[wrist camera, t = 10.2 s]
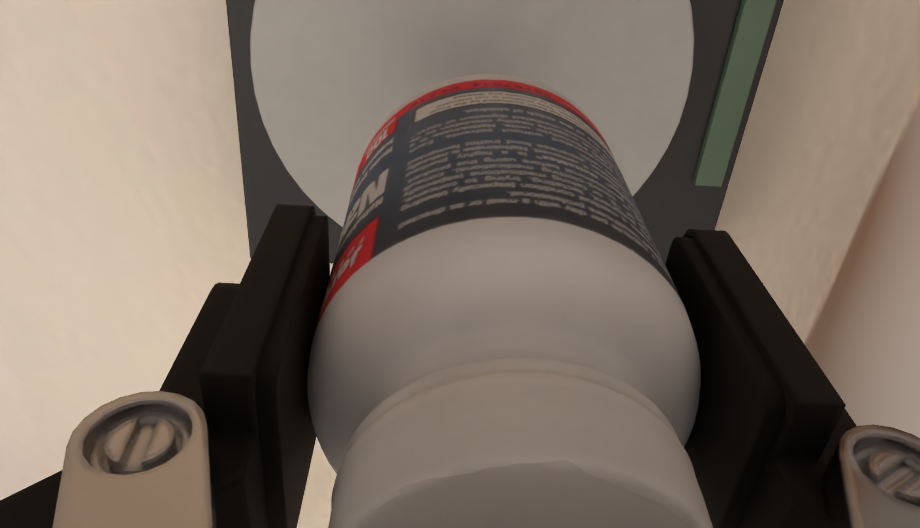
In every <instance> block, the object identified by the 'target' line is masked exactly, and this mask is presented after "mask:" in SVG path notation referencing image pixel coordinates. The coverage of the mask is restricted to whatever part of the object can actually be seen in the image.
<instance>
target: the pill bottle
mask: <svg viewBox="0 0 920 528" xmlns="http://www.w3.org/2000/svg"><path fill="white" fill-rule="evenodd" d="M700 387H701V367H700V357H699V352H698V347H697V342H696V339H695V336H694V332H693V329H692V326H691V323H690V320H689V317H688V314H687V312H686V309H685V306H684V304H683V302H682V300H681V298H680V296H679V294H678V292H677V289H676V287H675V285H674V283H673V281H672V279H671V276H670V274H669V272H668V270H667V268H666V266H665V264H664V262H663V260H662V258H661V256H660V254H659V252H658V250H657V248H656V245H655V243H654V241H653V239H652V237H651V235H650V233H649V231H648V229H647V227H646V225H645V223H644V220H643V218H642V216H641V214H640V212H639V210H638V208H637V206H636V204H635V202H634V199H633V197H632V195H631V193H630V190H629V188H628V186H627V184H626V182H625V180H624V178H623V176H622V173H621V171H620V169H619V167H618V165H617V163H616V161H615V159H614V156H613V154H612V152H611V150H610V148H609V146H608V145H607V143H606V141H605V140H604V138H603V136H602V135H601V133H600V131H599V130H598V128H597V127H596V125H595V124H594V123H593V121H592V120H591V119H590V118H589V117H588V116H587V114H586V113H585V112H584V111H583V110H582V109H580V108H579V107H578V106H577V105H576V104H575V103H573V102H572V101H571V100H569V99H568V98H567V97H565V96H563V95H562V94H560V93H559V92H557V91H555V90H554V89H552V88H549V87H547V86H545V85H542V84H540V83H537V82H534V81H531V80H528V79H524V78H521V77H516V76H511V75H502V74H474V75H467V76H462V77H457V78H453V79H449V80H446V81H443V82H440V83H437V84H435V85H433V86H430V87H428V88H426V89H424V90H422V91H420V92H418V93H416V94H415V95H413V96H412V97H410V98H409V99H407V100H406V101H404V102H403V103H402V104H400V105H399V106H398V107H397V108H396V109H395V110H394V111H392V112H391V113H390V114H389V115H388V116H387V117H386V118H385V120H384V121H383V122H382V123H381V124H380V126H379V127H378V128H377V130H376V131H375V132H374V134H373V135H372V137H371V139H370V141H369V143H368V145H367V146H366V149H365V151H364V153H363V155H362V158H361V161H360V164H359V166H358V169H357V173H356V177H355V181H354V184H353V188H352V192H351V196H350V201H349V205H348V209H347V213H346V217H345V221H344V225H343V229H342V233H341V237H340V241H339V245H338V249H337V253H336V256H335V260H334V264H333V267H332V271H331V274H330V278H329V282H328V285H327V289H326V292H325V296H324V300H323V304H322V306H321V310H320V314H319V317H318V322H317V326H316V329H315V333H314V337H313V341H312V345H311V351H310V358H309V365H308V372H307V395H308V404H309V411H310V416H311V419H312V423H313V426H314V430H315V433H316V436H317V438H318V441H319V443H320V445H321V448H322V450H323V452H324V454H325V456H326V458H327V460H328V462H329V463H330V465H331V466H332V468H333V469H334V470H335V472H336V473H337V476H336V480H335V484H334V487H333V492H332V511H331V517H330V523H329V528H713V526H712V523H711V520H710V517H709V514H708V511H707V508H706V504H705V501H704V498H703V495H702V493H701V490H700V487H699V485H698V482H697V480H696V476H695V472H694V469H693V465H692V462H691V460H690V458H689V456H688V454H687V452H686V450H685V449H684V446H685V445H686V443H687V441H688V438H689V436H690V433H691V431H692V428H693V425H694V422H695V418H696V414H697V410H698V405H699V393H700Z"/></svg>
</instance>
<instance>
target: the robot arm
mask: <svg viewBox="0 0 920 528" xmlns="http://www.w3.org/2000/svg"><path fill="white" fill-rule="evenodd" d="M665 266H666V268H667V270H668V272H669V274H670V276H671V279H672V281H673V283H674V285H675V287H676V289H677V292H678V294H679V296H680V298H681V300H682V302H683V304H684V306H685V309H686V312H687V314H688V317H689V320H690V323H691V326H692V329H693V332H694V336H695V339H696V342H697V347H698V352H699V357H700V367H701V387H700V393H699V405H698V410H697V414H696V418H695V422H694V425H693V428H692V431H691V433H690V436H689V438H688V441H687V443H686V445H685V446H684V449H685V450H686V452H687V454H688V456H689V458H690V460H691V462H692V465H693V469H694V472H695V476H696V480H697V482H698V485H699V487H700V490H701V493H702V495H703V498H704V501H705V504H706V508H707V511H708V514H709V517H710V520H711V523H712V526H713V528H920V438H918V437H916V436H914V435H912V434H910V433H907V432H904V431H901V430H898V429H895V428H891V427H885V426H878V425H865V426H856V424H855V423H854V422H853V420H852V419H851V417H850V416H849V414H848V413H847V411H846V410H845V406H846V405H845V403H844V402H843V400H842V399H841V398H840V396H839V395H838V393H837V392H836V390H835V389H834V387H833V386H832V384H831V383H830V381H829V380H828V379H827V377H826V376H825V374H824V373H823V371H822V370H821V368H820V367H819V365H818V364H817V362H816V361H815V359H814V358H813V357H812V355H811V354H810V352H809V351H808V349H807V348H806V346H805V345H804V343H803V342H802V340H801V339H800V338H799V336H798V335H797V333H796V332H795V330H794V329H793V327H792V326H791V324H790V323H789V321H788V320H787V319H786V317H785V316H784V314H783V313H782V311H781V310H780V308H779V307H778V305H777V304H776V302H775V301H774V300H773V298H772V297H771V295H770V294H769V292H768V291H767V289H766V288H765V286H764V285H763V283H762V282H761V281H760V279H759V278H758V276H757V275H756V273H755V272H754V270H753V269H752V267H751V266H750V264H749V263H748V262H747V260H746V259H745V257H744V256H743V254H742V253H741V251H740V250H739V248H738V247H737V245H736V244H735V243H734V241H733V240H732V238H731V237H730V235H729V234H728V233H727V232H726V231H717V230H700V229H688V230H687V231H686V232H685V234H684V235H683V237H675V238H674V239H673V241H672V243H671V246H670V249H669V253H668V256H667V260H666V264H665ZM329 278H330V264H329V226H328V217H327V216H320V215H316V212H315V208H314V206H306V205H289V204H277V205H276V206H275V208H274V211H273V213H272V215H271V217H270V219H269V222H268V224H267V226H266V228H265V230H264V232H263V235H262V237H261V239H260V241H259V243H258V246H257V248H256V250H255V252H254V254H253V257H252V259H251V261H250V263H249V265H248V267H247V270H246V272H245V274H244V276H243V278H242V281H241V283H240V284H234V283H217V284H215V285H214V287H213V288H212V290H211V291H210V293H209V295H208V297H207V299H206V301H205V303H204V305H203V307H202V309H201V311H200V313H199V315H198V317H197V319H196V321H195V323H194V324H193V326H192V328H191V330H190V332H189V334H188V336H187V338H186V340H185V342H184V344H183V346H182V348H181V350H180V352H179V354H178V356H177V358H176V360H175V361H174V363H173V365H172V367H171V369H170V371H169V373H168V375H167V377H166V379H165V381H164V383H163V385H162V387H161V389H160V391H154V392H140V393H136V394H132V395H128V396H124V397H120V398H118V399H116V400H114V401H111V402H109V403H107V404H105V405H102V406H101V407H99V408H98V409H96V410H95V411H94V412H92V413H91V414H89V415H88V416H87V417H85V418H84V419H83V420H82V422H81V423H80V424H79V425H78V426H77V427H76V429H75V430H74V431H73V432H72V435H71V437H70V440H69V442H68V445H67V447H66V453H65V458H64V464H63V470H62V471H60V472H58V473H56V474H54V475H52V476H49V477H47V478H45V479H43V480H41V481H39V482H37V483H35V484H33V485H31V486H29V487H27V488H25V489H23V490H21V491H19V492H17V493H15V494H13V495H11V496H9V497H7V498H5V499H3V500H1V501H0V528H297V523H298V519H299V514H300V509H301V505H302V500H303V496H304V491H305V486H306V482H307V477H308V473H309V468H310V463H311V459H312V454H313V450H314V445H315V440H316V433H315V430H314V426H313V423H312V419H311V416H310V411H309V404H308V395H307V372H308V365H309V358H310V351H311V345H312V341H313V337H314V333H315V329H316V326H317V322H318V317H319V314H320V310H321V306H322V304H323V300H324V296H325V292H326V289H327V285H328V282H329Z"/></svg>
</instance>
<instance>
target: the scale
mask: <svg viewBox="0 0 920 528" xmlns="http://www.w3.org/2000/svg"><path fill="white" fill-rule="evenodd" d="M783 1H784V0H226V4H227V15H228V26H229V36H230V47H231V57H232V68H233V79H234V89H235V100H236V110H237V121H238V132H239V142H240V153H241V163H242V174H243V185H244V195H245V206H246V216H247V227H248V238H249V248H250V258H252V257H253V254H254V252H255V250H256V248H257V246H258V243H259V241H260V239H261V237H262V235H263V232H264V230H265V228H266V226H267V224H268V222H269V219H270V217H271V215H272V213H273V211H274V208H275V206H276V205H277V204H289V205H306V206H314V208H315V212H316V215H320V216H327V217H328V226H329V263H334V260H335V256H336V253H337V249H338V245H339V241H340V237H341V233H342V229H343V225H344V221H345V217H346V213H347V209H348V205H349V201H350V196H351V192H352V188H353V184H354V181H355V177H356V173H357V169H358V166H359V164H360V161H361V158H362V155H363V153H364V151H365V149H366V146H367V145H368V143H369V141H370V139H371V137H372V135H373V134H374V132H375V131H376V130H377V128H378V127H379V126H380V124H381V123H382V122H383V121H384V120H385V118H386V117H387V116H388V115H389V114H390V113H391V112H392V111H394V110H395V109H396V108H397V107H398V106H399V105H400V104H402V103H403V102H404V101H406V100H407V99H409V98H410V97H412V96H413V95H415V94H416V93H418V92H420V91H422V90H424V89H426V88H428V87H430V86H433V85H435V84H437V83H440V82H443V81H446V80H449V79H453V78H457V77H462V76H467V75H474V74H502V75H511V76H516V77H521V78H524V79H528V80H531V81H534V82H537V83H540V84H542V85H545V86H547V87H549V88H552V89H554V90H555V91H557V92H559V93H560V94H562V95H563V96H565V97H567V98H568V99H569V100H571V101H572V102H573V103H575V104H576V105H577V106H578V107H579V108H580V109H582V110H583V111H584V112H585V113H586V114H587V116H588V117H589V118H590V119H591V120H592V121H593V123H594V124H595V125H596V127H597V128H598V130H599V131H600V133H601V135H602V136H603V138H604V140H605V141H606V143H607V145H608V146H609V148H610V150H611V152H612V154H613V156H614V159H615V161H616V163H617V165H618V167H619V169H620V171H621V173H622V176H623V178H624V180H625V182H626V184H627V186H628V188H629V190H630V193H631V195H632V197H633V199H634V202H635V204H636V206H637V208H638V210H639V212H640V214H641V216H642V218H643V220H644V223H645V225H646V227H647V229H648V231H649V233H650V235H651V237H652V239H653V241H654V243H655V245H656V248H657V250H658V252H659V254H660V256H661V258H662V260H663V262H664V264H666V260H667V256H668V253H669V249H670V246H671V243H672V241H673V239H674V238H675V237H683V235H684V234H685V232H686V231H687V230H688V229H700V230H715V226H716V223H717V220H718V216H719V213H720V210H721V207H722V203H723V200H724V197H725V193H726V190H727V187H728V183H729V180H730V177H731V173H732V170H733V167H734V164H735V160H736V157H737V154H738V150H739V147H740V144H741V140H742V137H743V134H744V130H745V127H746V124H747V121H748V117H749V114H750V111H751V107H752V104H753V101H754V97H755V94H756V91H757V87H758V84H759V81H760V78H761V74H762V71H763V68H764V64H765V61H766V58H767V54H768V51H769V48H770V44H771V41H772V38H773V35H774V31H775V28H776V25H777V21H778V18H779V15H780V11H781V8H782V5H783Z"/></svg>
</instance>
